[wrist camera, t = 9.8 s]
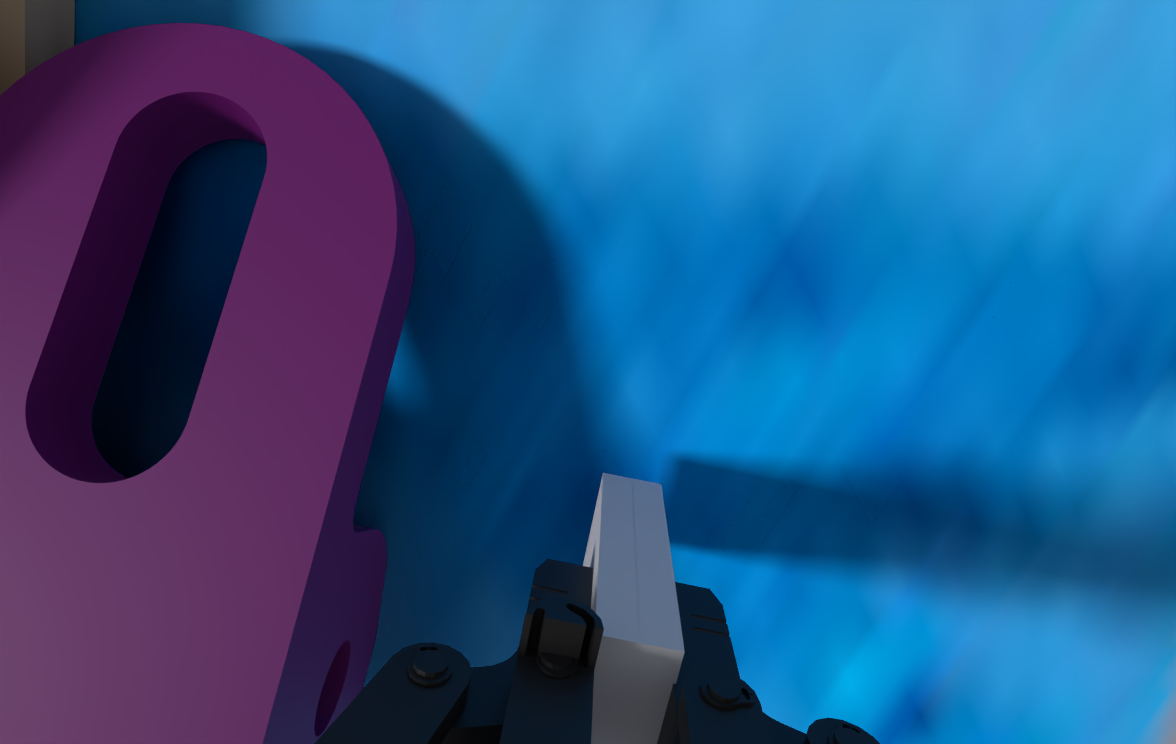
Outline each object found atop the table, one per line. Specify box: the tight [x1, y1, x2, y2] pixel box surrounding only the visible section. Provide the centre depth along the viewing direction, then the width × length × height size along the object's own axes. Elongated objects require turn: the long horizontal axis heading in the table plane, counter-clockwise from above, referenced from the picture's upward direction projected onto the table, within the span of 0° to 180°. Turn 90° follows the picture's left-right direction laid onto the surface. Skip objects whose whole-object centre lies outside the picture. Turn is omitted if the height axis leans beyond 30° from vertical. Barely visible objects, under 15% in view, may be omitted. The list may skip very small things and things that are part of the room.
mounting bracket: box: [0, 23, 415, 744], centre depth 18 cm, size 9×8×18 cm
